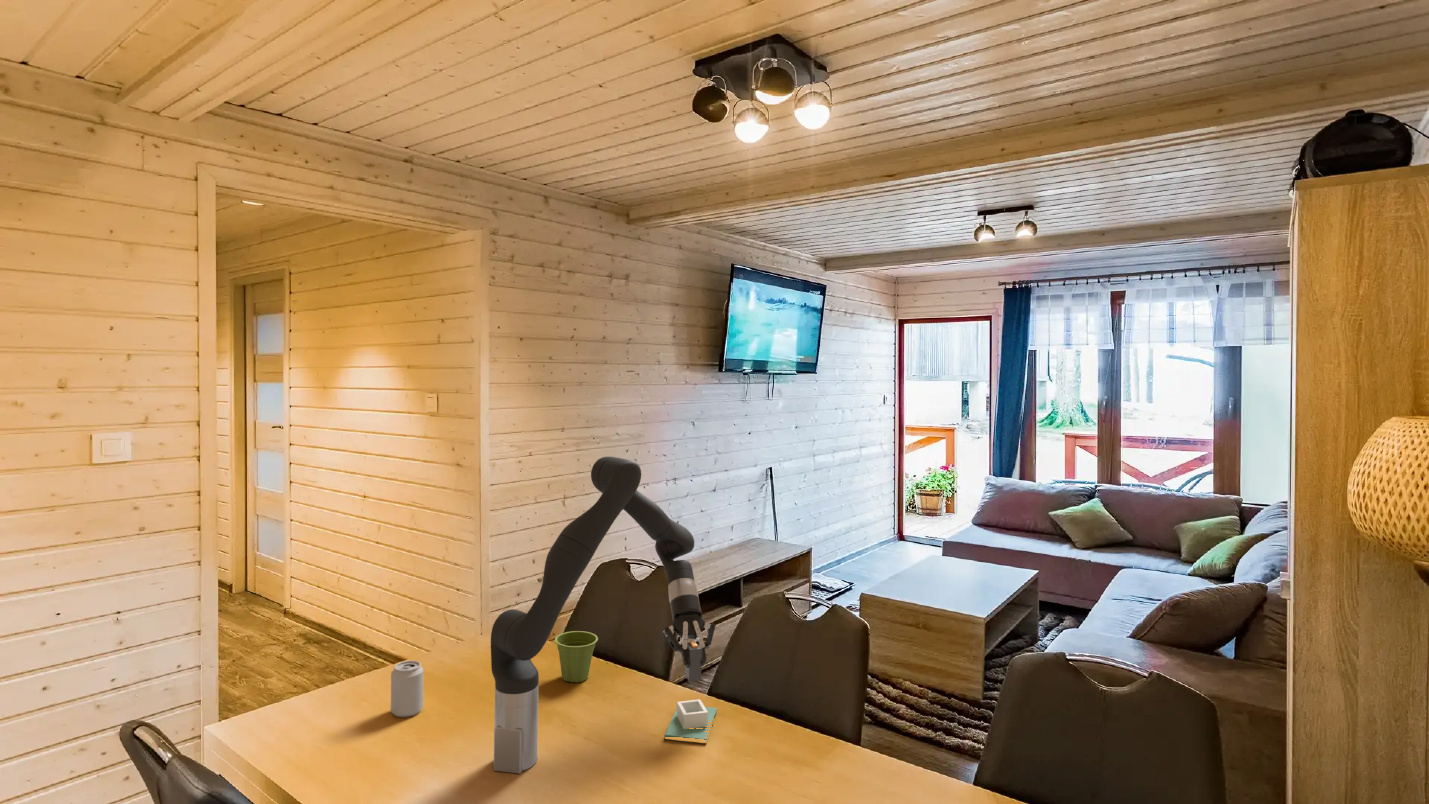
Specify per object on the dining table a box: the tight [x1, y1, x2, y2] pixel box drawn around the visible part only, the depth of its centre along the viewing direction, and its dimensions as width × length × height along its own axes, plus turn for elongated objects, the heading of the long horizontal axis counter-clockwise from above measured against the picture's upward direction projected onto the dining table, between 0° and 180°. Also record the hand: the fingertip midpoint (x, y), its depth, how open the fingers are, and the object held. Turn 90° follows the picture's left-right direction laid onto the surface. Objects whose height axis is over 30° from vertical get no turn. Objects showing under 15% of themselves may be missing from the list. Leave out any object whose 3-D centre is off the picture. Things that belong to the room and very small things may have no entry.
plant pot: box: [554, 630, 599, 683], centre depth 204 cm, size 12×12×11 cm
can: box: [390, 660, 424, 718], centre depth 182 cm, size 8×8×12 cm
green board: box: [664, 706, 718, 740], centre depth 179 cm, size 16×10×1 cm, turn 171°
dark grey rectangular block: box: [684, 641, 702, 683], centre depth 178 cm, size 4×3×8 cm
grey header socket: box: [676, 699, 708, 729], centre depth 179 cm, size 7×6×4 cm
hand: (695, 665), depth 177 cm, fingers closed on dark grey rectangular block, 3 cm apart
